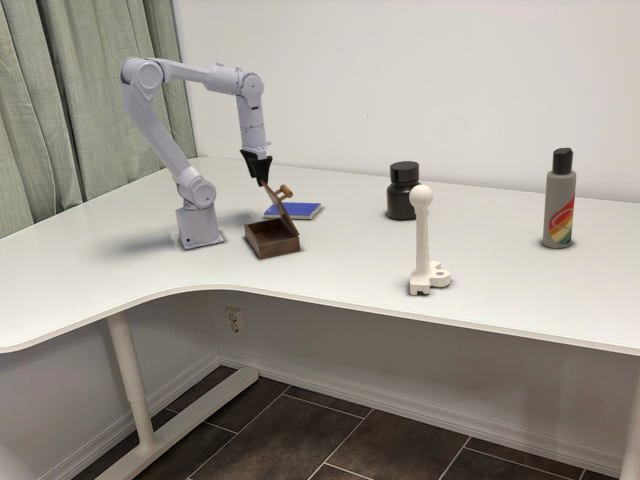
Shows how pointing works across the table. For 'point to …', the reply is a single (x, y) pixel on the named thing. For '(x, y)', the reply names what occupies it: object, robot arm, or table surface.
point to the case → (271, 237)
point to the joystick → (424, 246)
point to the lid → (279, 205)
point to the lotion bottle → (559, 200)
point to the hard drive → (295, 210)
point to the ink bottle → (402, 189)
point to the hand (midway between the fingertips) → (259, 181)
